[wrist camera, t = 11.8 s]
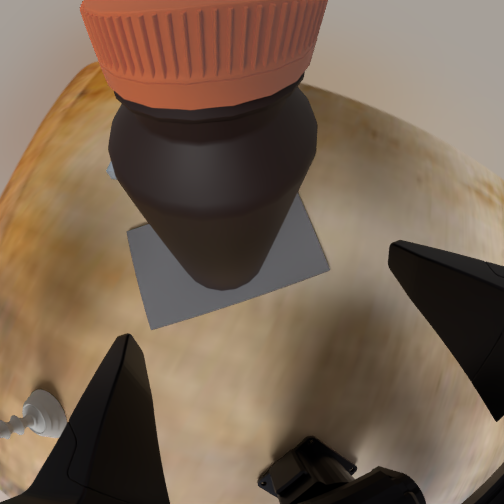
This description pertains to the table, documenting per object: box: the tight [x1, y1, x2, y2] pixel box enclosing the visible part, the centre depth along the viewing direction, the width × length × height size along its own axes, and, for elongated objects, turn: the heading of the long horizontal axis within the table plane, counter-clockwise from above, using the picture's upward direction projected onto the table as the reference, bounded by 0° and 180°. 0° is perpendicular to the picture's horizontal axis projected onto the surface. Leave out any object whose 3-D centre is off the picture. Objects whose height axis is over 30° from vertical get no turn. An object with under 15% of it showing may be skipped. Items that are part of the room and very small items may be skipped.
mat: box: [127, 193, 330, 330], centre depth 23 cm, size 8×15×1 cm, turn 109°
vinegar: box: [80, 0, 328, 291], centre depth 13 cm, size 7×7×20 cm
